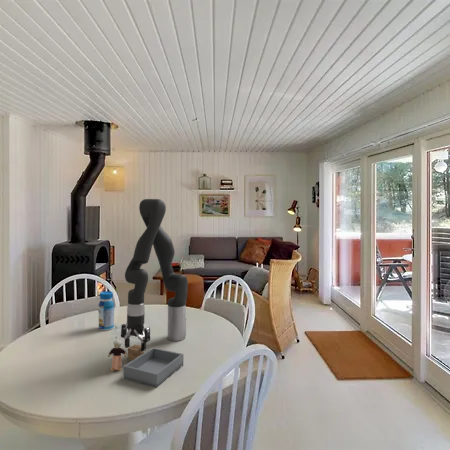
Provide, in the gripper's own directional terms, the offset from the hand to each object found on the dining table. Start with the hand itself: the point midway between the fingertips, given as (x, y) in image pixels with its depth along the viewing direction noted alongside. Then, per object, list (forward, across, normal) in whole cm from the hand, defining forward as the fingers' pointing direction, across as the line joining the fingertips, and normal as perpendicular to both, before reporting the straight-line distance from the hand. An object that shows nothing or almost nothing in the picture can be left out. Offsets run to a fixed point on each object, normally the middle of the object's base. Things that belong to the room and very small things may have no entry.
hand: (135, 349), depth 150 cm
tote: (+4, -15, +6) cm, 17 cm away
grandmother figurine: (+5, 0, +11) cm, 12 cm away
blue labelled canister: (+4, +38, -24) cm, 45 cm away
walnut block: (+4, 0, -1) cm, 4 cm away
